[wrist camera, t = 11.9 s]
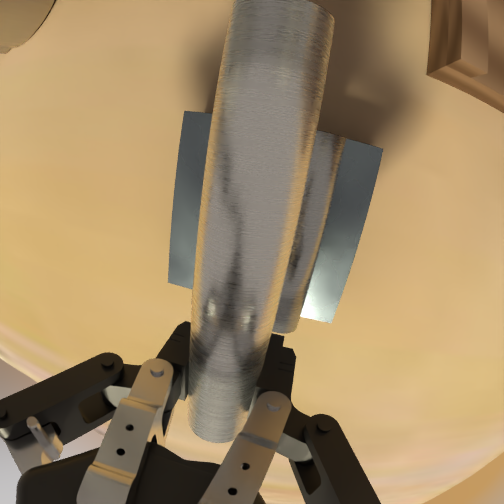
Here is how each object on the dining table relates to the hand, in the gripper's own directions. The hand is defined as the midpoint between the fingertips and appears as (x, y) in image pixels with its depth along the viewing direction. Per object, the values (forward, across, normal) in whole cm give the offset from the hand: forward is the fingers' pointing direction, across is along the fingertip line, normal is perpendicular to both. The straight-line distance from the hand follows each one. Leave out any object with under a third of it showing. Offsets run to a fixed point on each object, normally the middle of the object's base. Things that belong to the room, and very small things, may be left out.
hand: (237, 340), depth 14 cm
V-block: (+7, 0, -5) cm, 8 cm away
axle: (-3, 0, -5) cm, 6 cm away
